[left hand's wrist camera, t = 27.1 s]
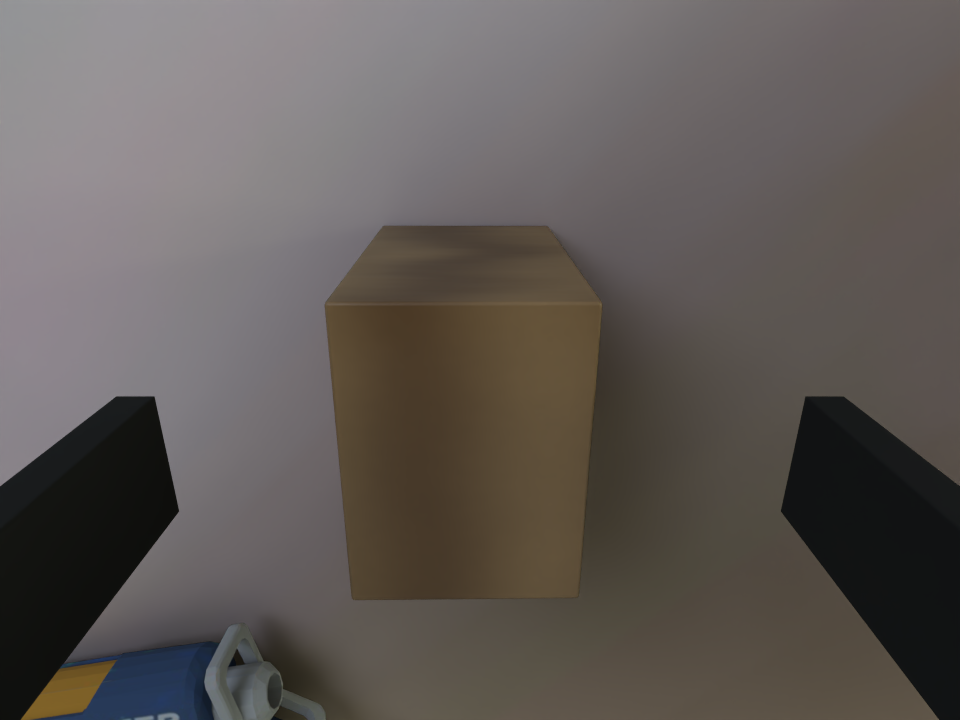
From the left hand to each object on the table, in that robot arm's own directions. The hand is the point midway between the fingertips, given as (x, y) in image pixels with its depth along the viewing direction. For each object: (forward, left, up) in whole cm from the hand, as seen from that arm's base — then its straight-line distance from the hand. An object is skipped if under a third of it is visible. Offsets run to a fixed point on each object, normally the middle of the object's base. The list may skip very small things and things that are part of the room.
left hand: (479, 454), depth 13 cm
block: (0, 0, -8) cm, 8 cm away
